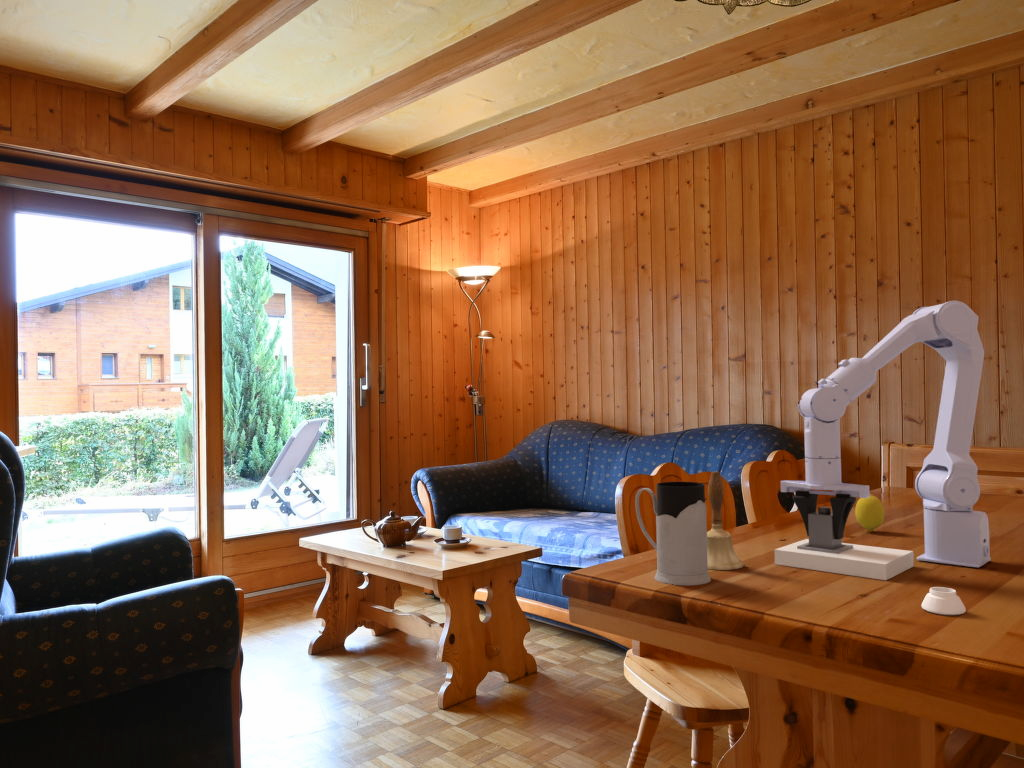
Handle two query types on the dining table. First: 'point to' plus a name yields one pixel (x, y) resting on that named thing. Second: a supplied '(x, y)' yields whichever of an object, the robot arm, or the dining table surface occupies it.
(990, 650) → the dining table surface
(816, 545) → the plug
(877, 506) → the lemon
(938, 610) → the white upside-down bowl
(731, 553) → the hand bell
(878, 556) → the socket board
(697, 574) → the glass holder
